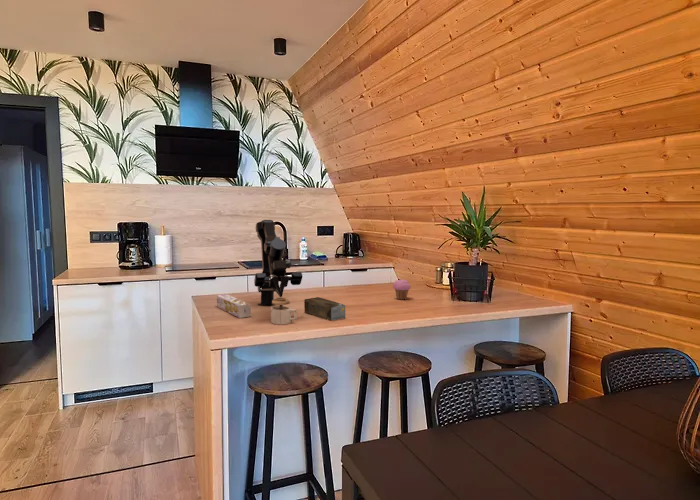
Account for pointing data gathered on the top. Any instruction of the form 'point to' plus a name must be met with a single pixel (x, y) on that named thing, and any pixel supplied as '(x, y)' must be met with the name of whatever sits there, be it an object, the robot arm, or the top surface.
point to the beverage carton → (324, 308)
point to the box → (234, 306)
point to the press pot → (282, 315)
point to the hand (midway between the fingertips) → (281, 296)
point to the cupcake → (401, 288)
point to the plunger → (281, 302)
